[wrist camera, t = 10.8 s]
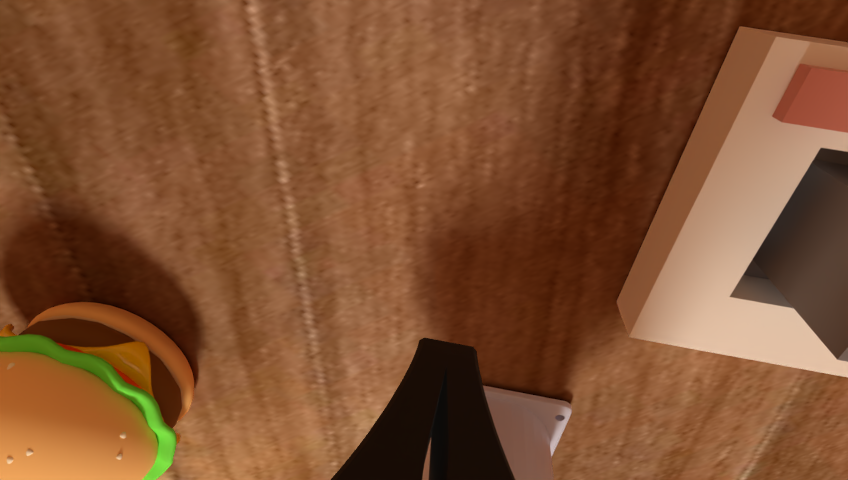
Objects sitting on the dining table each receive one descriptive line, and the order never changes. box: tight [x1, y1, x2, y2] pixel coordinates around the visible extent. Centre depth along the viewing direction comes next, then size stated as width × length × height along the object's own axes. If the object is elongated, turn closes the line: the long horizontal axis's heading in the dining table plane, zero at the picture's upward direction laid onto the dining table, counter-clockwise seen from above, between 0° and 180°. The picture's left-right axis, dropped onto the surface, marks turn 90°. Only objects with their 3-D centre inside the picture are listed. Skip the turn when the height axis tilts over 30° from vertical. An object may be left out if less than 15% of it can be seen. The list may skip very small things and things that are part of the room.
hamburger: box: [0, 302, 194, 480], centre depth 25 cm, size 12×12×9 cm
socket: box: [616, 26, 848, 377], centre depth 17 cm, size 12×12×3 cm
